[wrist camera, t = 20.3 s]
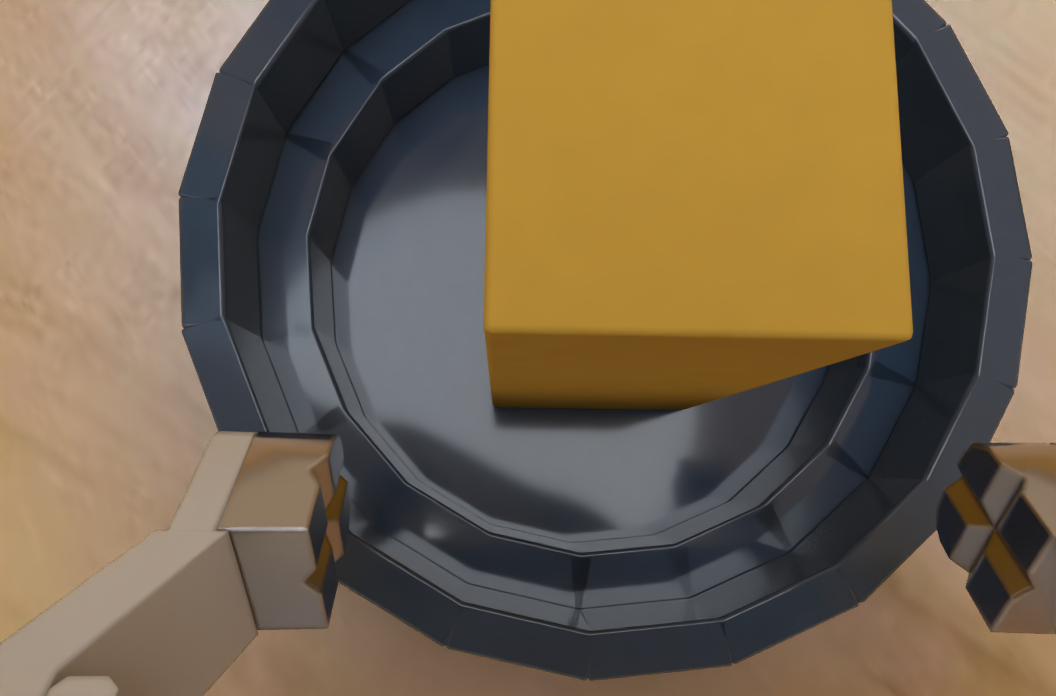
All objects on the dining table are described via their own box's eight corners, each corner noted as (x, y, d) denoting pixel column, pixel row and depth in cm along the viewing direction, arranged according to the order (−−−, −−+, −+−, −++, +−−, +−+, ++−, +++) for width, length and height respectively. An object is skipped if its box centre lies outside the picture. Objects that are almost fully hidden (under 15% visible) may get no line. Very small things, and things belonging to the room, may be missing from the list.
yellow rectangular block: (492, 407, 18) (482, 332, 8) (497, 159, 19) (494, -189, 9) (686, 410, 18) (917, 340, 8) (681, 164, 19) (884, -172, 9)
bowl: (134, 397, 18) (-3, 371, 13) (477, -103, 21) (470, -283, 16) (706, 750, 17) (788, 862, 13) (995, 190, 20) (1159, 99, 15)
